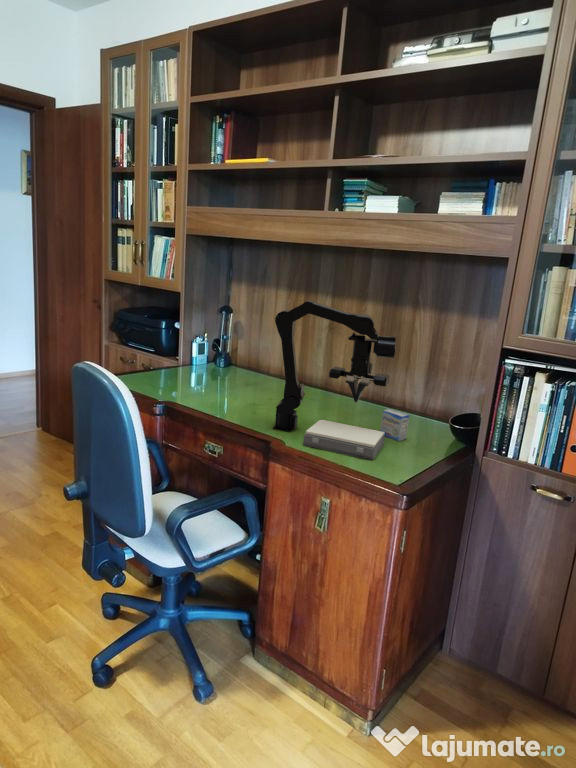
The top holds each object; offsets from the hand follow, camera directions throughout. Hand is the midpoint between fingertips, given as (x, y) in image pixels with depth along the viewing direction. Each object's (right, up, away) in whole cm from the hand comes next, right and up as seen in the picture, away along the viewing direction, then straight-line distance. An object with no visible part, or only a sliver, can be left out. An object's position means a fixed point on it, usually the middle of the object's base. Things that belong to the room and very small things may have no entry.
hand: (356, 401), depth 171 cm
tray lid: (-4, -10, -6) cm, 12 cm away
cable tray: (-5, -13, -6) cm, 15 cm away
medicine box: (+13, -12, +6) cm, 19 cm away
